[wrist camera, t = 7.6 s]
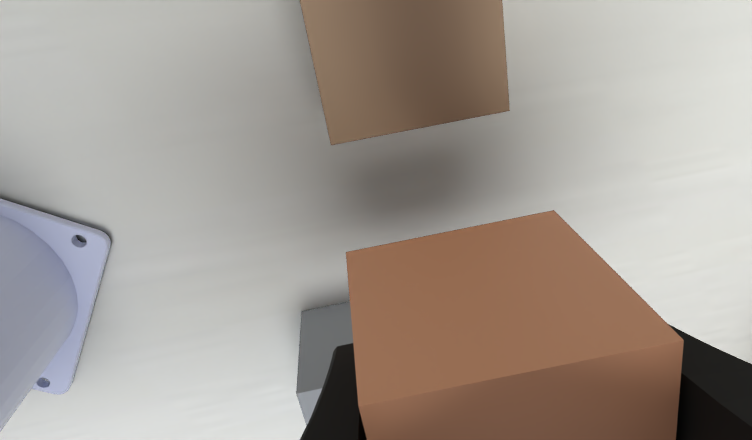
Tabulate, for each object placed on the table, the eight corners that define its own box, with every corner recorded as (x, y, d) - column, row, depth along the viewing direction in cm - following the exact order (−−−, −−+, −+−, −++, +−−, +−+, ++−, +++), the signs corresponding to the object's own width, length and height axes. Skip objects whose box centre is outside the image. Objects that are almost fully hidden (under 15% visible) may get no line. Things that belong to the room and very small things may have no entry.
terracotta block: (382, 410, 15) (408, 603, 10) (345, 251, 13) (358, 406, 8) (560, 373, 15) (666, 550, 10) (553, 210, 13) (683, 340, 8)
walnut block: (329, 106, 19) (331, 145, 15) (297, -47, 17) (287, -57, 13) (465, 80, 19) (509, 110, 15) (450, -76, 17) (495, -97, 13)
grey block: (327, 399, 25) (328, 493, 20) (301, 310, 23) (296, 393, 18) (433, 376, 25) (458, 466, 20) (417, 286, 23) (440, 363, 18)
